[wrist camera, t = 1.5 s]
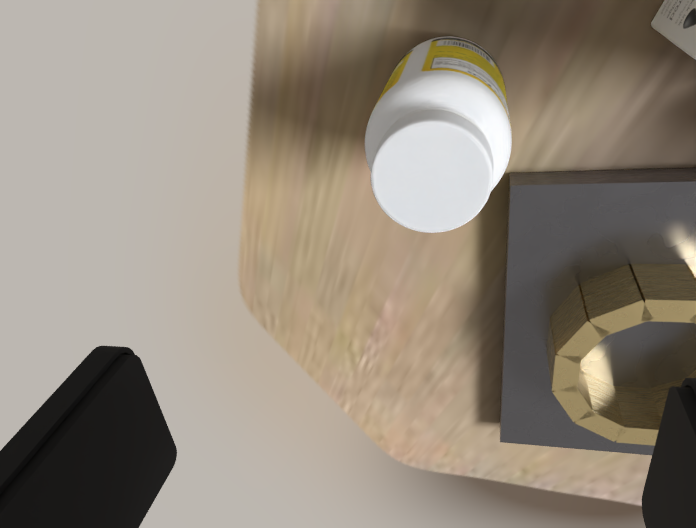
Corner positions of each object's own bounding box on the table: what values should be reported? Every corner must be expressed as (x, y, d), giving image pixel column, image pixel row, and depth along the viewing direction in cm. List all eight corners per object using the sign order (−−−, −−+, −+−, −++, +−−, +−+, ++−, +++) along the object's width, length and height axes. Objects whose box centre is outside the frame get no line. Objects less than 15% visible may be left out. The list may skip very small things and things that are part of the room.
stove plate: (509, 173, 27) (513, 214, 23) (844, 163, 24) (910, 210, 20) (499, 424, 36) (501, 481, 33) (738, 442, 33) (770, 510, 29)
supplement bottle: (412, 164, 28) (382, 266, 20) (372, 61, 26) (320, 130, 18) (519, 129, 26) (534, 228, 18) (486, 14, 23) (487, 67, 15)
